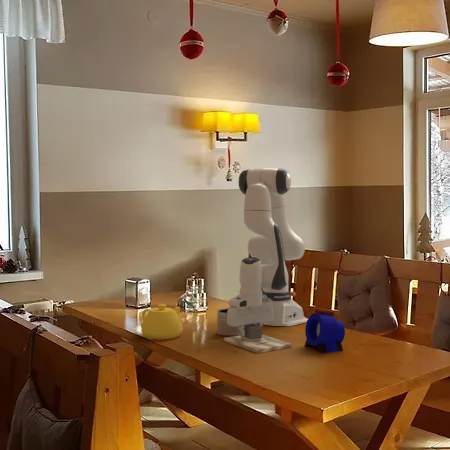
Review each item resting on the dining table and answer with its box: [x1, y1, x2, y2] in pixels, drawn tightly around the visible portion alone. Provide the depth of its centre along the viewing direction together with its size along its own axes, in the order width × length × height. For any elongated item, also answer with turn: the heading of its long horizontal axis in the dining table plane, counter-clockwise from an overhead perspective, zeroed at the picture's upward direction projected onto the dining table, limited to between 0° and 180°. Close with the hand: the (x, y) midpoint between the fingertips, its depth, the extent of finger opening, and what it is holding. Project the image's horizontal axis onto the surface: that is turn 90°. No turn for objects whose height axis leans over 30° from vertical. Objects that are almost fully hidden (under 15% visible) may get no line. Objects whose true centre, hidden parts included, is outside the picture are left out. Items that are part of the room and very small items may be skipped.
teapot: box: [140, 303, 183, 341], centre depth 263 cm, size 20×19×13 cm
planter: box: [216, 307, 241, 337], centre depth 264 cm, size 11×11×10 cm
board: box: [223, 334, 293, 354], centre depth 247 cm, size 16×22×1 cm
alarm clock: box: [304, 308, 346, 354], centre depth 241 cm, size 12×12×15 cm
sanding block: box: [241, 323, 263, 341], centre depth 250 cm, size 5×7×5 cm
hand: (250, 334), depth 251 cm, fingers closed on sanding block, 5 cm apart
